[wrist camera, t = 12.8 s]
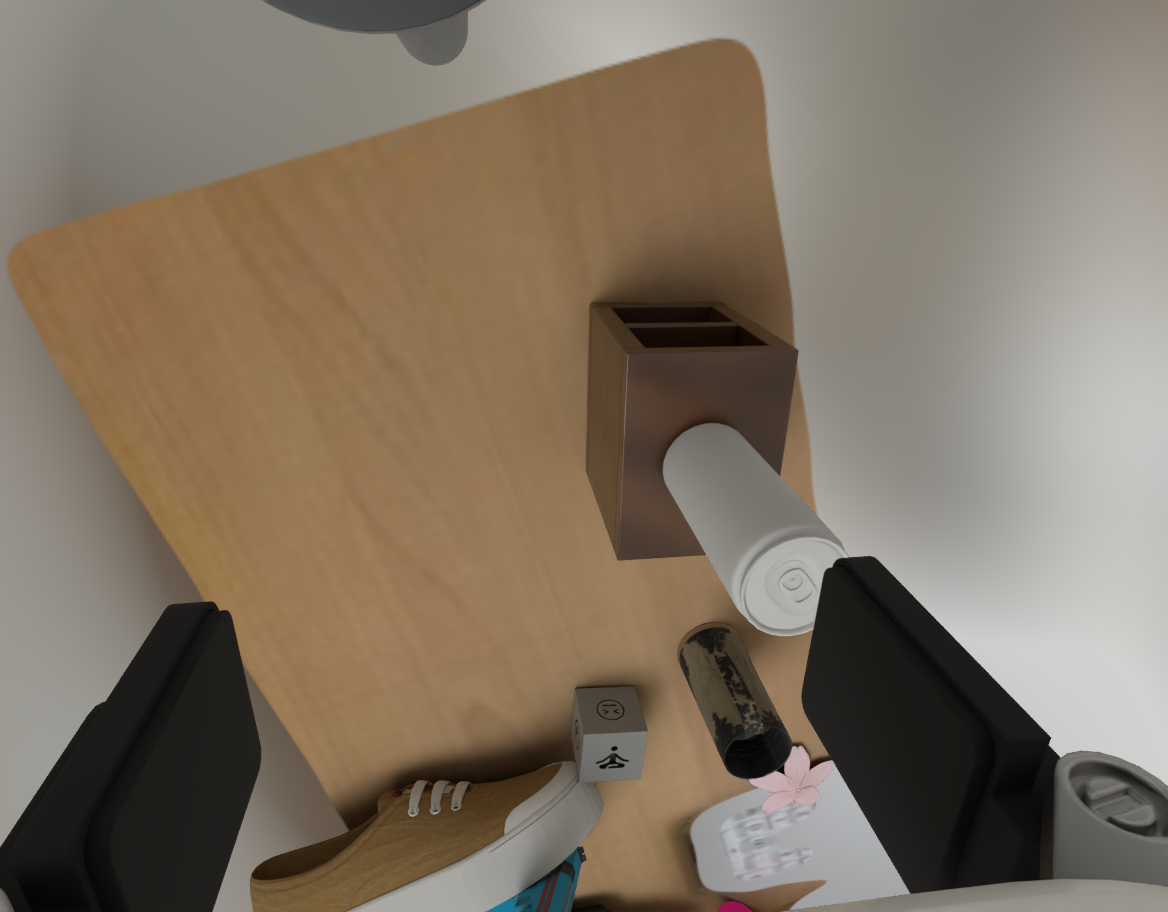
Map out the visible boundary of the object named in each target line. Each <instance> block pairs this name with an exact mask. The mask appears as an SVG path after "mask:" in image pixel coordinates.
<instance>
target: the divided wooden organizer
mask: <svg viewBox="0 0 1168 912" xmlns="http://www.w3.org/2000/svg"><path fill="white" fill-rule="evenodd" d="M797 358H798V350H797V349H796V348H794V347H793V346H791V345H789V344H788V343H786V342H785V341H783V340H782V339H780V338H778V337H777V336H775V335H774V334H772V333H770V332H769V331H767V330H766V329H764V328H763V327H761V326H759V325H758V324H756V323H755V322H753V321H751V320H750V319H748V318H747V317H745V316H743V315H742V314H740V313H739V312H737V311H736V310H734V309H732V308H731V307H729V306H727V305H726V304H724V303H723V302H698V303H603V304H590V314H589V356H588V399H587V442H586V472H587V475H588V478H589V481H590V484H591V487H592V489H593V492H594V495H595V498H596V501H597V503H598V506H599V509H600V512H601V515H602V517H603V520H604V523H605V526H606V529H607V532H608V534H609V537H610V540H611V543H612V546H613V548H614V552H615V554H616V557H617V560H634V559H650V558H666V557H681V556H697V555H706V553H705V552H704V550H703V548H702V546H701V545H700V543H699V541H698V539H697V538H696V536H695V534H694V532H693V531H692V529H691V527H690V525H689V524H688V522H687V520H686V519H685V517H684V515H683V513H682V512H681V510H680V508H679V506H678V505H677V503H676V501H675V500H674V498H673V496H672V494H671V493H670V491H669V489H668V487H667V486H666V484H665V481H664V476H663V463H664V459H665V456H666V453H667V450H668V449H669V448H670V446H671V445H672V443H673V442H674V440H675V439H677V438H678V437H679V436H680V435H681V434H682V433H683V432H685V431H687V430H689V429H690V428H692V427H694V426H698V425H701V424H705V423H719V424H723V425H727V426H730V427H731V428H733V429H735V430H736V431H738V432H739V433H740V434H741V435H742V436H743V437H744V438H745V440H746V441H747V442H748V443H749V444H750V445H751V446H752V447H753V448H754V449H755V450H756V451H757V452H758V453H759V454H760V456H761V457H762V458H763V459H764V460H765V461H766V462H767V463H768V464H769V465H770V466H771V467H772V468H773V469H774V471H775V472H776V473H777V474H778V475H779V476H780V474H781V467H782V460H783V453H784V446H785V440H786V433H787V426H788V419H789V412H790V406H791V399H792V392H793V385H794V378H795V371H796V365H797Z"/></svg>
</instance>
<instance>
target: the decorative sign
mask: <svg viewBox="0 0 1168 912" xmlns="http://www.w3.org/2000/svg"><path fill="white" fill-rule="evenodd" d="M571 912H610V911H608V910H606V909H605V908H604V906H602V905H595V906H590V907H585V908H580V909H575V910H571Z"/></svg>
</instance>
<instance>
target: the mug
mask: <svg viewBox="0 0 1168 912" xmlns="http://www.w3.org/2000/svg"><path fill="white" fill-rule="evenodd" d="M677 656H678V661H679V663H680V665H681V668H682V670H683V672H684V675H685V677H686V679H687V682H688V684H689V686H690V689H691V691H692V693H693V696H694V698H695V700H696V702H697V705H698V707H699V709H700V712H701V714H702V716H703V718H704V721H705V723H706V725H707V727H708V730H709V732H710V734H711V736H712V739H713V741H714V743H715V745H716V748H717V750H718V752H719V754H720V756H721V759H722V761H723V763H724V765H725V767H726V769H727V771H729V772H730V773H731V774H732V775H734V776H736V777H738V778H742V779H757V778H761V777H765V776H767V775H769V774H771V773H773V772H775V771H776V770H778V769H779V768H780V767H781V766H782V765H783V764H784V763H785V762H786V761H787V759H788V758H789V756H790V754H791V750H792V741H791V738H790V736H789V734H788V732H787V730H786V728H785V727H784V725H783V723H782V721H781V719H780V717H779V715H778V713H777V711H776V709H775V707H774V705H773V704H772V702H771V700H770V698H769V696H768V694H767V692H766V690H765V688H764V686H763V684H762V682H761V680H760V678H759V676H758V674H757V672H756V670H755V668H754V666H753V664H752V662H751V660H750V658H749V656H748V653H747V651H746V649H745V647H744V645H743V643H742V641H741V639H740V637H739V634H738V633H737V632H736V630H735V629H734V628H732V627H730V626H729V625H727V624H723V623H708V624H703V625H701V626H698V627H696V628H694V629H693V630H691V631H690V632H689V633H687V635H686V636H685V637H684V638H683V639H682V641H681V643H680V645H679V647H678V652H677Z"/></svg>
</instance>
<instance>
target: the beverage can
mask: <svg viewBox="0 0 1168 912" xmlns="http://www.w3.org/2000/svg"><path fill="white" fill-rule="evenodd" d="M663 476H664V481H665V484H666V486H667V487H668V489H669V491H670V493H671V494H672V496H673V498H674V500H675V501H676V503H677V505H678V506H679V508H680V510H681V512H682V513H683V515H684V517H685V519H686V520H687V522H688V524H689V525H690V527H691V529H692V531H693V532H694V534H695V536H696V538H697V539H698V541H699V543H700V545H701V546H702V548H703V550H704V552H705V553H706V555H707V557H708V559H709V560H710V562H711V564H712V566H713V567H714V569H715V571H716V573H717V574H718V576H719V578H720V580H721V581H722V583H723V585H724V587H725V588H726V590H727V592H728V593H729V595H730V597H731V599H732V600H733V602H734V604H735V606H736V607H737V609H738V610H739V612H740V613H742V614H743V615H744V616H745V617H746V618H747V619H748V621H749V622H750V623H751V624H753V625H754V626H755V627H756V628H757V629H759V630H761V631H763V632H765V633H767V634H771V635H777V636H794V635H799V634H803V633H806V632H809V631H812V630H813V628H814V623H815V617H816V612H817V607H818V601H819V596H820V590H821V585H822V580H823V575H824V572H825V570H826V569H827V568H831V567H832V566H833V564H834V562H835V561H836V560H837V559H839V558H849V556H848V554H847V553H846V552H845V549H844V547H843V545H842V543H841V541H840V540H839V539H838V538H837V537H836V536H835V535H834V534H833V533H832V532H831V531H830V529H829V528H828V527H827V526H826V525H825V524H824V523H823V522H822V521H821V520H820V519H819V518H818V517H817V515H816V514H815V513H814V512H813V511H812V510H811V509H810V508H809V507H808V506H807V505H806V504H805V503H804V502H803V500H802V499H801V498H800V497H799V496H798V495H797V494H796V493H795V492H794V491H793V490H792V489H791V488H790V487H789V486H788V484H787V483H786V482H785V481H784V480H783V479H782V478H781V477H780V476H779V475H778V474H777V473H776V472H775V471H774V469H773V468H772V467H771V466H770V465H769V464H768V463H767V462H766V461H765V460H764V459H763V458H762V457H761V456H760V454H759V453H758V452H757V451H756V450H755V449H754V448H753V447H752V446H751V445H750V444H749V443H748V442H747V441H746V440H745V438H744V437H743V436H742V435H741V434H740V433H739V432H738V431H736V430H735V429H733V428H731V427H730V426H727V425H723V424H719V423H705V424H701V425H698V426H694V427H692V428H690V429H689V430H687V431H685V432H683V433H682V434H681V435H680V436H679V437H678V438H677V439H675V440H674V442H673V443H672V445H671V446H670V448H669V449H668V450H667V453H666V456H665V459H664V463H663Z"/></svg>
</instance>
